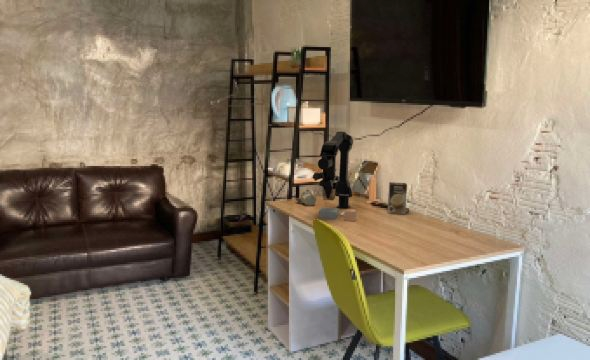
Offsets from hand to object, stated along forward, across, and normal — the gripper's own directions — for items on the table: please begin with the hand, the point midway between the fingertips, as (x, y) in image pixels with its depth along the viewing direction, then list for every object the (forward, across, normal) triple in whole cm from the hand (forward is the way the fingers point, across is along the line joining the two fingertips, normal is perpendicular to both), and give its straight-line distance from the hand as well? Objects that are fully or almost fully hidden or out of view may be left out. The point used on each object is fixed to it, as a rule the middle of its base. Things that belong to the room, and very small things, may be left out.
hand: (329, 197), depth 262 cm
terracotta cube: (+10, +3, +12) cm, 16 cm away
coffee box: (+10, -21, +32) cm, 40 cm away
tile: (+10, -8, +8) cm, 15 cm away
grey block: (+11, 0, 0) cm, 11 cm away
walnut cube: (+1, 0, 0) cm, 1 cm away
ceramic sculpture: (+11, -26, -20) cm, 34 cm away
